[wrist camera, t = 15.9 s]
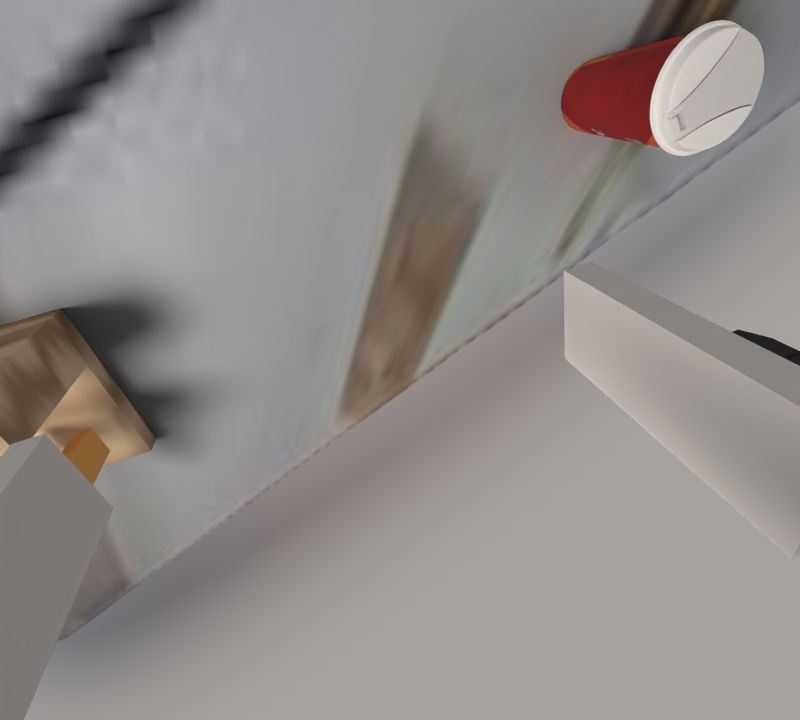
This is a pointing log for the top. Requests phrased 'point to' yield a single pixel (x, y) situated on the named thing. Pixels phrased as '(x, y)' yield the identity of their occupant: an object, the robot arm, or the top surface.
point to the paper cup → (670, 90)
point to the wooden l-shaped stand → (62, 389)
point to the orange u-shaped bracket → (87, 453)
